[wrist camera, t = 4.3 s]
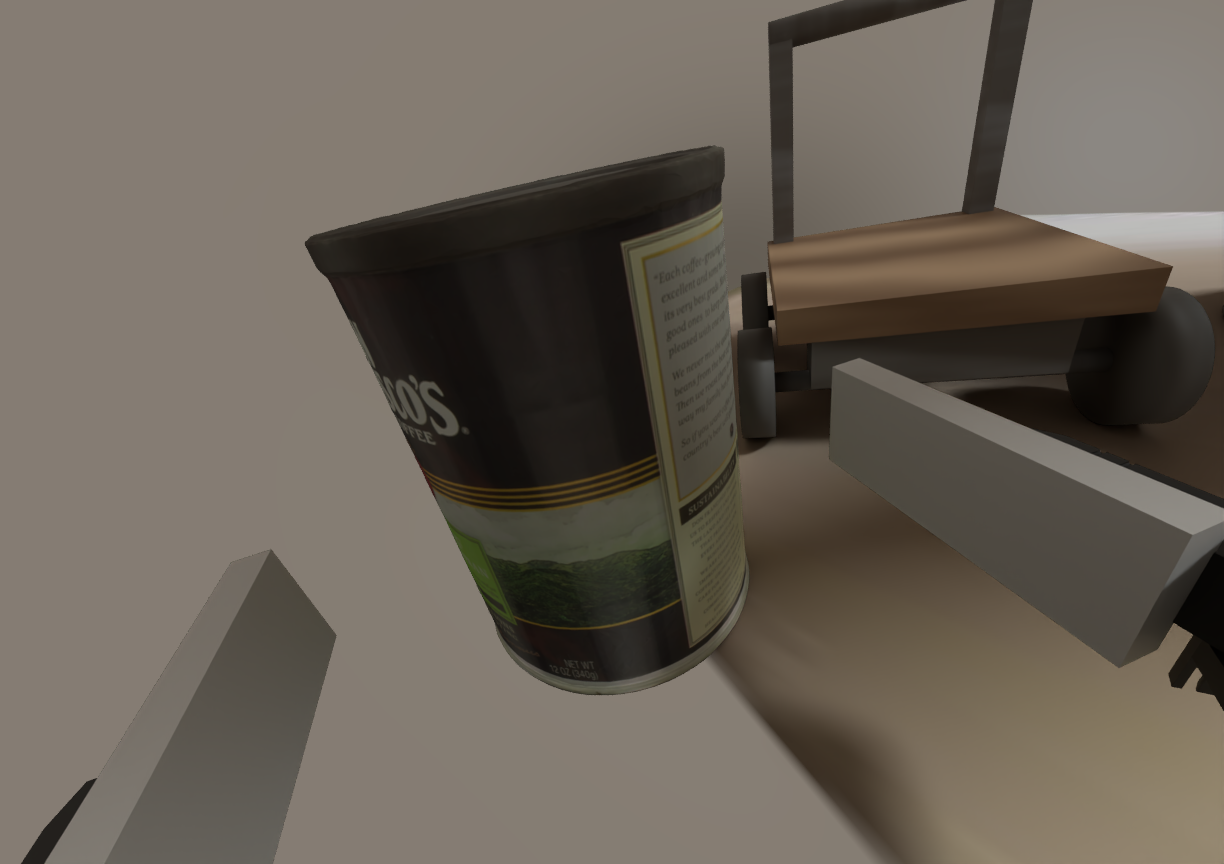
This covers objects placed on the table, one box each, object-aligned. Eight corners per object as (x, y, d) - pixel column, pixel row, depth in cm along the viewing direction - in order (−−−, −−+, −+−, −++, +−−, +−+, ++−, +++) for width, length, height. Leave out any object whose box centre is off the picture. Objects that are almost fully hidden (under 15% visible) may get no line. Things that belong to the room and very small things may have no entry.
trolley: (746, 338, 37) (728, 38, 28) (998, 314, 32) (1078, -63, 23) (743, 459, 24) (707, -44, 15) (1176, 449, 19) (1549, -335, 9)
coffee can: (550, 773, 13) (275, 247, 6) (469, 559, 22) (312, 232, 15) (817, 590, 17) (829, 116, 10) (657, 466, 25) (602, 164, 18)
